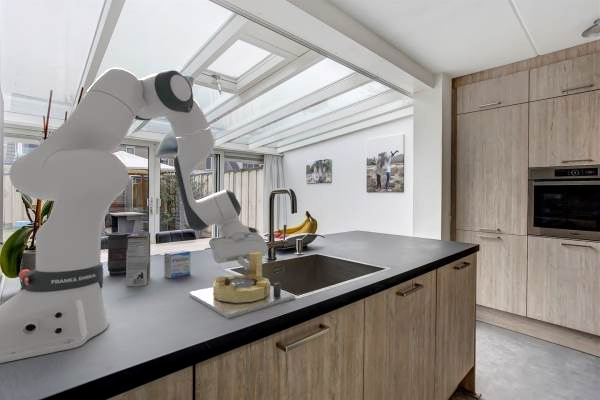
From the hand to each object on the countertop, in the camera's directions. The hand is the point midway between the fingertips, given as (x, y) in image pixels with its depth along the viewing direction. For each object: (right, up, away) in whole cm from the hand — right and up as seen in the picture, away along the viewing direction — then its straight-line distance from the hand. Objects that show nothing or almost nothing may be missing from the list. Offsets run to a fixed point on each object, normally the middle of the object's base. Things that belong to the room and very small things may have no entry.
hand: (249, 268), depth 102 cm
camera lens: (-49, -5, +10) cm, 50 cm away
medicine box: (-28, -5, +9) cm, 30 cm away
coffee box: (-37, -5, 0) cm, 38 cm away
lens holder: (+1, -4, -12) cm, 12 cm away
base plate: (0, -6, -13) cm, 14 cm away
